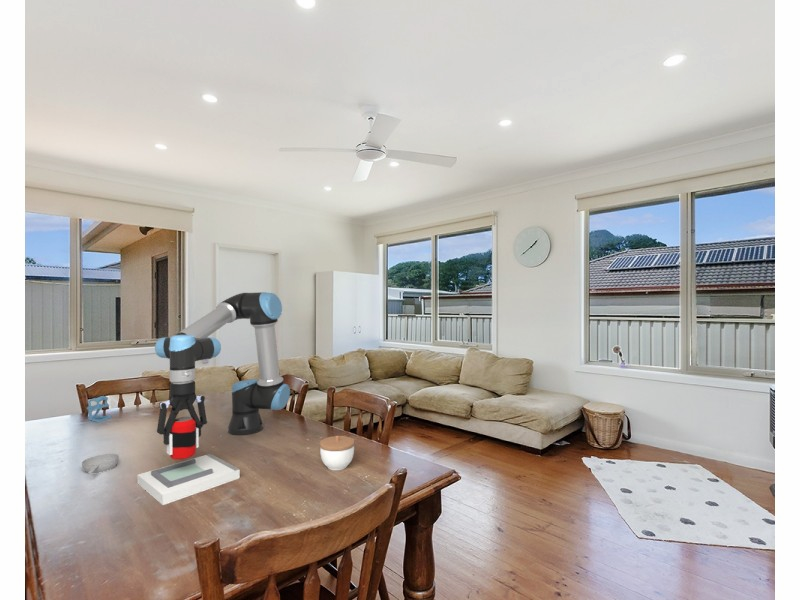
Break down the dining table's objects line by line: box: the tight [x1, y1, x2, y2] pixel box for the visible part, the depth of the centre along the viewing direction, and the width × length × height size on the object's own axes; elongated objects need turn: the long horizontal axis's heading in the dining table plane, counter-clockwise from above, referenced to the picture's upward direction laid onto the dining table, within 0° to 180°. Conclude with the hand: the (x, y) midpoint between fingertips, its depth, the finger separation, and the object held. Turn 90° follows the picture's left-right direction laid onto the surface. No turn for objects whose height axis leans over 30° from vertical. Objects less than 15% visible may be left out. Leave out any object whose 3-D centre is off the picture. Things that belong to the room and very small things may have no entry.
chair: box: [86, 395, 112, 423], centre depth 209 cm, size 8×8×12 cm
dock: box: [137, 453, 241, 506], centre depth 137 cm, size 24×22×4 cm
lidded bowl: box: [319, 435, 355, 471], centre depth 149 cm, size 13×13×11 cm
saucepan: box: [81, 453, 120, 474], centre depth 144 cm, size 11×18×4 cm, turn 23°
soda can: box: [169, 416, 197, 460], centre depth 136 cm, size 8×8×12 cm
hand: (182, 450), depth 136 cm, fingers closed on soda can, 7 cm apart
